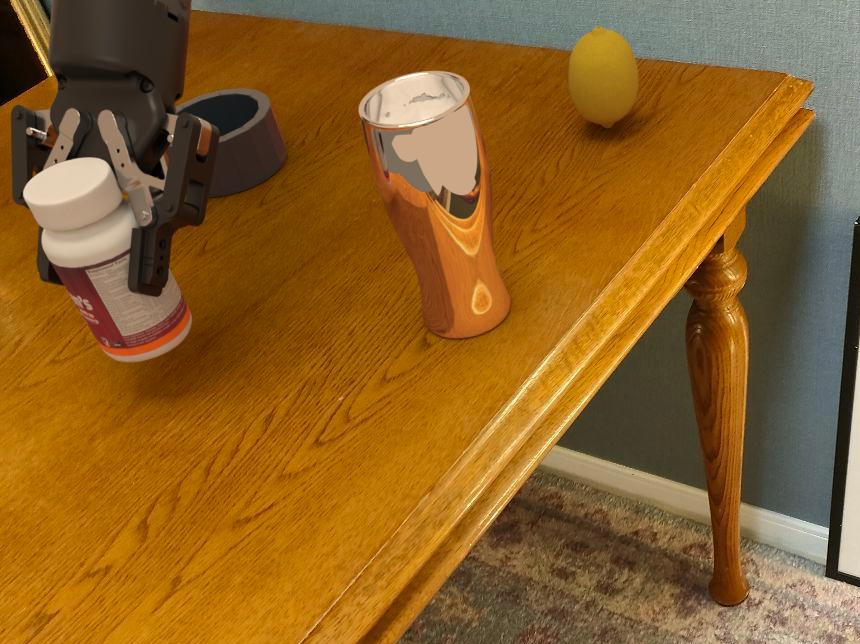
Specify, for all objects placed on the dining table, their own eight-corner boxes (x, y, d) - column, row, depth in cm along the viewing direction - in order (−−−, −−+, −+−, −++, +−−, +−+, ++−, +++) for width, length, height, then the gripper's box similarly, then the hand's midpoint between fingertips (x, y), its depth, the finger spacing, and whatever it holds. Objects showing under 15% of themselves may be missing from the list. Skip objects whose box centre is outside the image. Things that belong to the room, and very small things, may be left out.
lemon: (567, 144, 81) (553, 44, 75) (585, 110, 85) (573, 12, 79) (633, 145, 80) (624, 43, 74) (649, 110, 83) (642, 10, 77)
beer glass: (493, 349, 65) (442, 131, 54) (400, 337, 68) (332, 125, 56) (532, 286, 69) (492, 70, 58) (443, 276, 72) (388, 67, 60)
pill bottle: (91, 337, 67) (-1, 183, 59) (175, 295, 69) (96, 140, 60) (123, 379, 63) (29, 222, 55) (210, 334, 65) (132, 175, 57)
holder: (153, 188, 87) (129, 139, 84) (227, 131, 92) (208, 83, 89) (236, 205, 83) (215, 154, 80) (310, 144, 88) (293, 94, 85)
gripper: (-23, -24, 58) (-41, 268, 60) (179, -27, 54) (152, 290, 56) (77, 28, 65) (57, 289, 67) (263, 30, 61) (235, 309, 63)
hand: (100, 288), depth 62 cm, fingers closed on pill bottle, 6 cm apart
